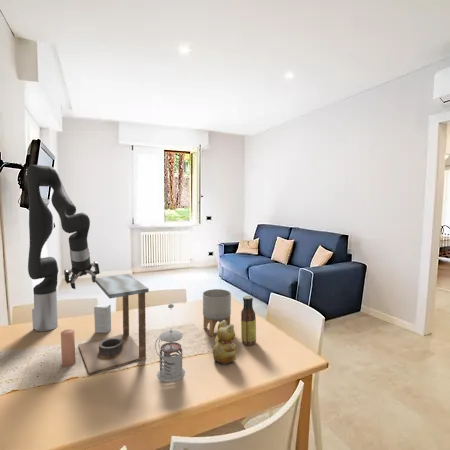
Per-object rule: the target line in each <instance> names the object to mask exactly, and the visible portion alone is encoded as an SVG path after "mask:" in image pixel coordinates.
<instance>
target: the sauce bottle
mask: <svg viewBox="0 0 450 450" xmlns="http://www.w3.org/2000/svg"><path fill="white" fill-rule="evenodd" d="M253 298H254V297H253V296H251V295H245V296H243V297H242V301H243V308H242V309H241V313H240V316H241V317H240V321H241V323H240V325H241V326H240V328H241V331H240V333H241V335H240V336H241V337H240V338H241V342H242V344H243V345H244V346H253V345H255V344H256V343H257V327H256V326H257V324H256V323H257V322H256V321H257V320H256V312H255V310H254V307H253V301H254V299H253Z"/></svg>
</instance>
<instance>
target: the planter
mask: <svg viewBox="0 0 450 450" xmlns="http://www.w3.org/2000/svg"><path fill="white" fill-rule="evenodd" d="M231 308H232V293H231V291H229V290H226V289H221V288H219V289H217V288H216V289H215V288H213V289H208V290H204V291H203V292H202V316H203V330H207V329H208V328H209V331H208V332H209V333H208V334H209V337H214V336H215V335H214V333H215V329H216V328H215V327H216V325H217V322H218V324H219V323H220V322H222V321H223V320H225V321H226V323H227V325H228V326H229V325H231V314H232V309H231ZM208 326H209V327H208Z"/></svg>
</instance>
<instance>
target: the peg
mask: <svg viewBox="0 0 450 450" xmlns="http://www.w3.org/2000/svg"><path fill="white" fill-rule="evenodd" d="M75 339H76V337H75V329H70V328H69V329H63V330H62V331H61V332H60V348H61V351H60V352H61V366H62V367H63V368H64V367H66V368H67V367H72V366H73V365H75V364H76V347H75V346H76V344H75V343H76V341H75Z"/></svg>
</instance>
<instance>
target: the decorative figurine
mask: <svg viewBox="0 0 450 450" xmlns="http://www.w3.org/2000/svg"><path fill="white" fill-rule="evenodd" d="M235 338H236V332H235V325H234V324H233V323H232V324H231V323H230V325H229V326H228V325H227V323H226V321H225V320H223V321H222V322H220V323H219V322H218V324H217V332H216V336H215V338H214V339H215V340H214V344H213V345H214V346H213V349H212V356H213V360H214V361H217V362H219V363H220V365H225V364H227V363H231V362H234V361H235V360H236V359H237V358H236V354H237V352H236V349H237V345H236V343H233V340H234V339H235Z"/></svg>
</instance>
